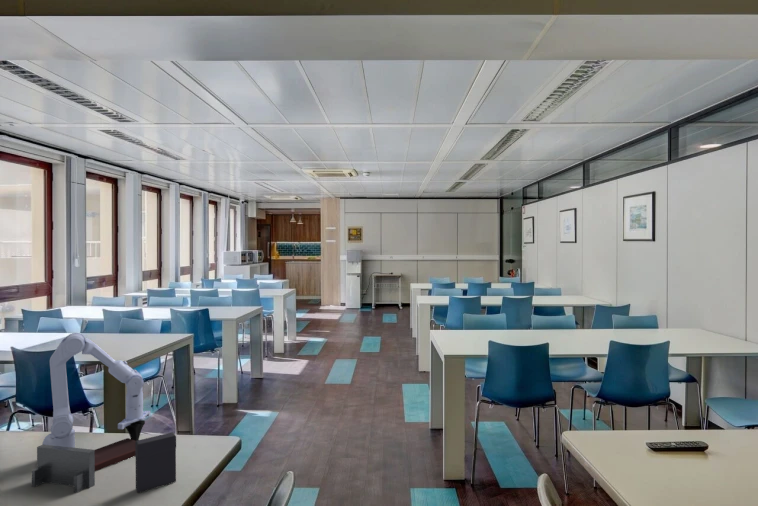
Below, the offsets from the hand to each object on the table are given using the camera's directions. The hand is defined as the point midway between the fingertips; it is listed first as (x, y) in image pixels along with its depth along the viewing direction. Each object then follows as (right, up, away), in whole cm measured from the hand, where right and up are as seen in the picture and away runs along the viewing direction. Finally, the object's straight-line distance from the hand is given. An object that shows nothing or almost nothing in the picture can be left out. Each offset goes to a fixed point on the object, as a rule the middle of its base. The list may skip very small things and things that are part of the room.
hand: (134, 441), depth 172 cm
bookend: (-7, -1, -30) cm, 31 cm away
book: (-3, -2, -11) cm, 12 cm away
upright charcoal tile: (+23, -1, -31) cm, 38 cm away
